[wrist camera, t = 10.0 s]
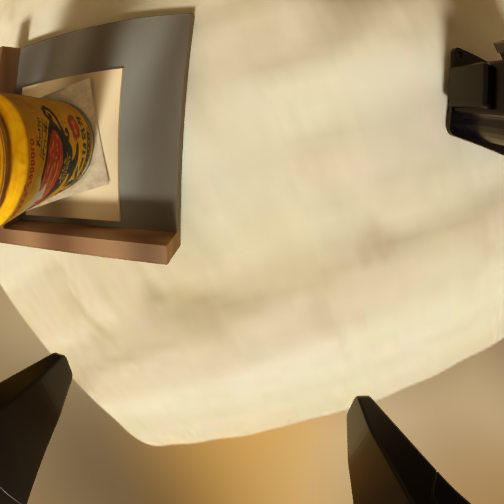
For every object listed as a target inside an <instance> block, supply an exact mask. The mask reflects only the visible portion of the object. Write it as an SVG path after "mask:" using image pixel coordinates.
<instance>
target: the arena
mask: <svg viewBox="0 0 504 504" xmlns="http://www.w3.org/2000/svg"><path fill="white" fill-rule="evenodd" d="M193 24H194V16H193V15H192V13H188V14H173V15H162V16H153V17H145V18H138V19H131V20H125V21H119V22H113V23H108V24H103V25H99V26H94V27H90V28H86V29H82V30H78V31H74V32H70V33H66V34H63V35H60V36H56V37H53V38H50V39H47V40H44V41H41V42H38V43H35V44H32V45H29V46H27V47H24V48H21V49H20V48H13V47H4V46H2V47H0V92H4V93H11V94H19V95H25V96H32V97H38V98H41V97H43V96H45V95H47V94H50V93H52V92H55V91H57V90H59V89H62V88H64V87H67V86H69V85H72V84H74V83H77V82H80V81H82V80H85V79H88V78H90V82H91V90H92V97H93V102H94V108H95V114H96V120H97V125H98V130H99V136H100V141H101V146H102V152H103V157H104V162H105V167H106V171H107V176H108V180H109V184H108V185H104V186H101V187H97V188H94V189H91V190H87V191H84V192H81V193H78V194H74V195H71V196H68V197H65V198H62V199H59V200H56V201H53V202H50V203H47V204H45V205H42V206H39V207H36V208H33V209H31V210H28V211H25V212H23V213H21V214H20V215H18V216H16V217H15V218H13V219H12V220H11V221H9V222H7V223H6V224H4V225H2V226H0V243H7V244H13V245H20V246H27V247H34V248H41V249H48V250H55V251H62V252H70V253H77V254H85V255H92V256H100V257H108V258H115V259H123V260H131V261H140V262H148V263H156V264H165V265H167V264H168V263H169V261H170V260H171V258H172V257H173V255H174V254H175V252H176V251H177V249H178V248H179V247H180V208H181V170H182V147H183V129H184V114H185V101H186V89H187V77H188V67H189V58H190V49H191V40H192V32H193Z"/></svg>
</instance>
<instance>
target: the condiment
mask: <svg viewBox="0 0 504 504" xmlns="http://www.w3.org/2000/svg"><path fill="white" fill-rule="evenodd" d="M108 184H109V180H108V176H107V171H106V167H105V162H104V157H103V152H102V146H101V141H100V136H99V130H98V125H97V120H96V114H95V108H94V102H93V97H92V90H91V82H90V78H88V79H85V80H82V81H80V82H77V83H74V84H72V85H69V86H67V87H64V88H62V89H59V90H57V91H55V92H52V93H50V94H47V95H45V96H43V97H41V98H38V97H32V96H25V95H19V94H11V93H4V92H0V226H2V225H4V224H6V223H7V222H9V221H11V220H12V219H13V218H15V217H16V216H18V215H20V214H21V213H23V212H25V211H28V210H31V209H33V208H36V207H39V206H42V205H45V204H47V203H50V202H53V201H56V200H59V199H62V198H65V197H68V196H71V195H74V194H78V193H81V192H84V191H87V190H91V189H94V188H97V187H101V186H104V185H108Z"/></svg>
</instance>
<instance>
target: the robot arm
mask: <svg viewBox="0 0 504 504" xmlns="http://www.w3.org/2000/svg"><path fill="white" fill-rule="evenodd" d="M494 46H495V48H496V50H497V52H498V53H500V55H501V57H502V59H503V60H498V61H491V62H487V61H485V60H483V59H481V58H479V57H477V56H475V55H473V54H471V53H469V52H467V51H465V50H463V49H461V48H455V49H453V50H452V52H451V69H450V80H449V96H448V103H449V110H448V120H447V131H448V133H449V134H450V135H451V136H454V137H457V138H460V139H463V140H466V141H468V142H471V143H474V144H477V145H479V146H482V147H484V148H487V149H489V150H492V151H494V152H497V153H499V154H501V155H504V40H503V41H500V42H497V43H494ZM457 52H458V53H459V55H460V57H459V56H458V55H457ZM453 126H455V131H453ZM71 381H72V371H71V369H70V366H69V363H68V361H67V358H66V357H65V356H64V355H61V354H58V353H53V354H51V355H49V356H47V357H45V358H43V359H42V360H40V361H38V362H36V363H35V364H33V365H31V366H29V367H27V368H26V369H24V370H22V371H20V372H18V373H16V374H15V375H13V376H11V377H9V378H8V379H6V380H4V381H2V382H0V504H27V502H28V499H29V496H30V492H31V489H32V486H33V484H34V481H35V478H36V475H37V472H38V470H39V467H40V464H41V461H42V459H43V456H44V453H45V451H46V448H47V446H48V444H49V441H50V439H51V436H52V434H53V431H54V429H55V427H56V424H57V422H58V419H59V417H60V414H61V411H62V408H63V405H64V402H65V399H66V396H67V393H68V390H69V387H70V384H71ZM347 438H348V439H347V442H348V465H349V473H350V479H351V487H352V495H353V504H471V503H470V502H468V501H467V500H466V499H465V498H464V497H463V496H461V495H460V494H459V493H458V492H457V491H456V490H455V489H454V488H453V487H452V486H451V485H450V484H449V483H448V482H447V481H446V480H445V479H444V478H443V477H442V476H441V475H440V474H439V472H436V469H435V468H434V467H433V466H432V465H431V464H430V463H429V461H428V460H427V459H426V458H425V457H424V456H423V455H422V454H421V453H420V452H419V451H418V449H417V448H416V447H415V446H414V445H413V444H412V443H411V442H410V440H409V439H408V438H407V437H406V436H405V435H404V434H403V433H402V432H401V431H400V429H399V428H398V427H397V426H396V425H395V424H394V423H393V422H392V420H391V419H390V418H389V417H388V416H387V415H386V414H385V413H384V412H383V410H382V409H381V408H380V407H379V406H378V405H377V404H376V403H375V401H374V400H373V399H372V398H371V397H369V396H357V397H355V399H354V401H353V403H352V405H351V407H350V409H349V411H348V413H347Z"/></svg>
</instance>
